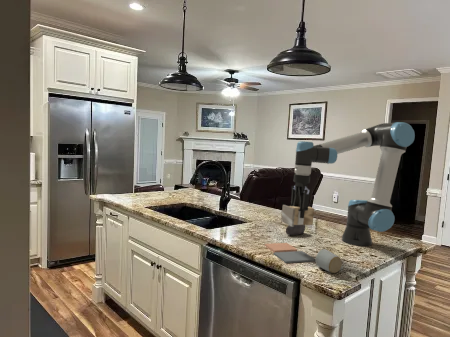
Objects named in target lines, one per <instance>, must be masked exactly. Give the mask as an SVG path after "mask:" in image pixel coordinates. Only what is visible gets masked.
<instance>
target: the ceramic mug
mask: <svg viewBox="0 0 450 337" xmlns="http://www.w3.org/2000/svg"><path fill="white" fill-rule="evenodd" d="M315 259H316V261H315V264H316V265H317V267H318V268H320V269H323V270H325V271H327V272H329V273H331V274H337V273H338V272H339V271H342V270H343V269H344V266H343V261H342V259H341V257H340V256H338V255H336V254H335V253H333V252H331V251H330V250H328V249H325V248H324V249H320V250H319V251H318V252H317V254H316V256H315Z"/></svg>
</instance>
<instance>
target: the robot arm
mask: <svg viewBox="0 0 450 337" xmlns="http://www.w3.org/2000/svg"><path fill="white" fill-rule="evenodd" d="M415 136H416V135H415V130H414V129H413V127H412V125H410V124H409V123H407V122H400V121H396V122H385V123H378V124H376V125H373V126H371V127H367V128H364V129H363V130H361V131H360V132H358V133H354V134H351V135H347V136H344V137H340V138H337V139H333V140H330V141H325V142H321V143H319V144H316V145H314V143H313V141H301V140H300V141H298V142H297V144H296V147H295V148H296V149H295V162H294V175H293V182H294V185H291V199H290V200H291V201H290V206H300V210H298V222H297V224H298V225H303V221H304V213H305V211H307V210H308V207H309V203H310V195H311V193H312V190H311V189H309V188H308V184H310V183H311V173H312V163H316V164H317V163H318V164H327V165H329V164H335V163H336V162H337V160H338V155H340V154H342V153H343V154H344V153H345V152H346V153H347V152H349V151H353V150H356V149H360V148H363V147H364V148H370V147H377V146H379V149H380V150H381V154H380V158H379V159H380V160H379V163H378V168H377V170H376V171H377V172H376V176H375V179H374V183H373V188H372V191H371V192H372V193H371V196H370V198H369V199H367V200H365V199H350V200H349V202H348V204H347V218H346V227H345V229H344V231H343V233H342V235H341V240H342V241H343V242H344V243H347V244H350V245H354V246H361V247H368V246H372V244H373V239H372V235H371V231H370V230H372V231H375V232H380V233H382V232H386V231H388V230H390V229H391V228H392V227H393V225H394V223H395V220H396V219H395V215H394V213H393V211H392V208H393V205H392V204H391V199H392V194H393V190H394V186H395V183H396V182H395V181H396V178H397V173H398V168H399V166H400V162H401V157H402V155H403V154H404V153H406V151H407V147H409V146H411V145H412V144H413V143H414V141H415Z"/></svg>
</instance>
